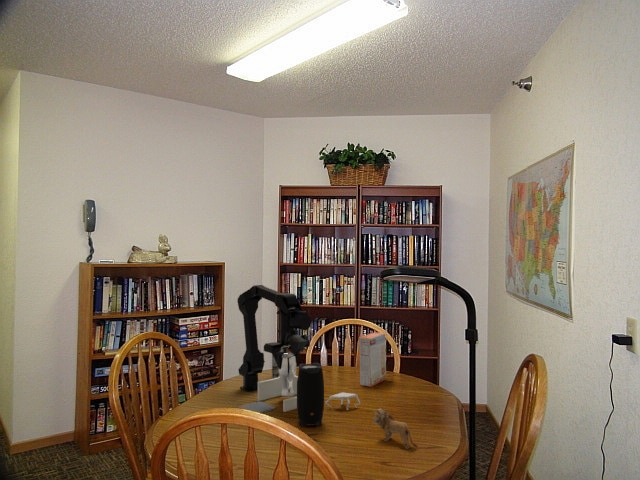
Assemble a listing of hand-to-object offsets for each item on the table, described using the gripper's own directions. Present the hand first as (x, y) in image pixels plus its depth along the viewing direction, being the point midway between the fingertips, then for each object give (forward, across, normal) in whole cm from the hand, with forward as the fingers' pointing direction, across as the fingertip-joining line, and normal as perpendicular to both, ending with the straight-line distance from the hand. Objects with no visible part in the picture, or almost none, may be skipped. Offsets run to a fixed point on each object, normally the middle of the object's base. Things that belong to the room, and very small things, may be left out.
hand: (287, 367), depth 182 cm
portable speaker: (+13, -8, -23) cm, 28 cm away
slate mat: (+13, -13, +1) cm, 19 cm away
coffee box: (+13, +16, +25) cm, 32 cm away
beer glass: (+10, 0, 0) cm, 10 cm away
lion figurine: (+13, 0, -52) cm, 53 cm away
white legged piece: (+13, +10, -19) cm, 25 cm away
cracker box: (+13, +44, -5) cm, 46 cm away
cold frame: (+13, +1, 0) cm, 13 cm away
